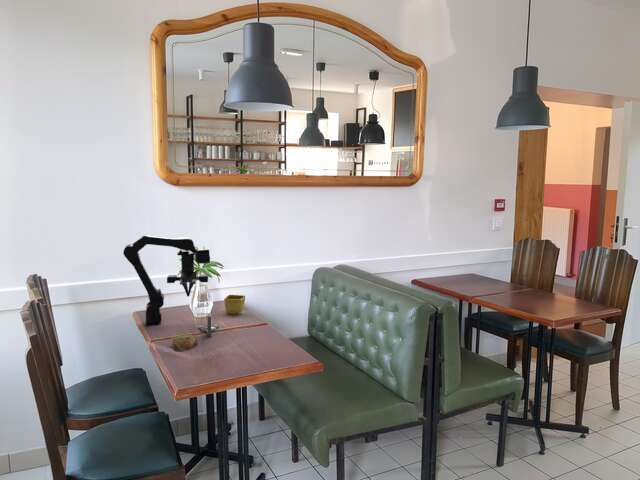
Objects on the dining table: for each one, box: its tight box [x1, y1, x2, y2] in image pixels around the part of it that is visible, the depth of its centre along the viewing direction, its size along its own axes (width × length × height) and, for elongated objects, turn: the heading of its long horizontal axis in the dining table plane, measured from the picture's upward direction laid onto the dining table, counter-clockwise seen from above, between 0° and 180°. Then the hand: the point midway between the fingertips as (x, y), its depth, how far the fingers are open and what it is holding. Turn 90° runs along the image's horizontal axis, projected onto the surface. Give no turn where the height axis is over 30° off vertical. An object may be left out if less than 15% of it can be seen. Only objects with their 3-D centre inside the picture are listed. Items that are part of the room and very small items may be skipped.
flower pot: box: [223, 294, 246, 315], centre depth 252 cm, size 9×9×9 cm
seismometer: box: [198, 312, 220, 338], centre depth 223 cm, size 19×9×9 cm, turn 14°
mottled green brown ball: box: [171, 332, 198, 353], centre depth 204 cm, size 10×10×8 cm
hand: (188, 296), depth 239 cm, fingers closed
